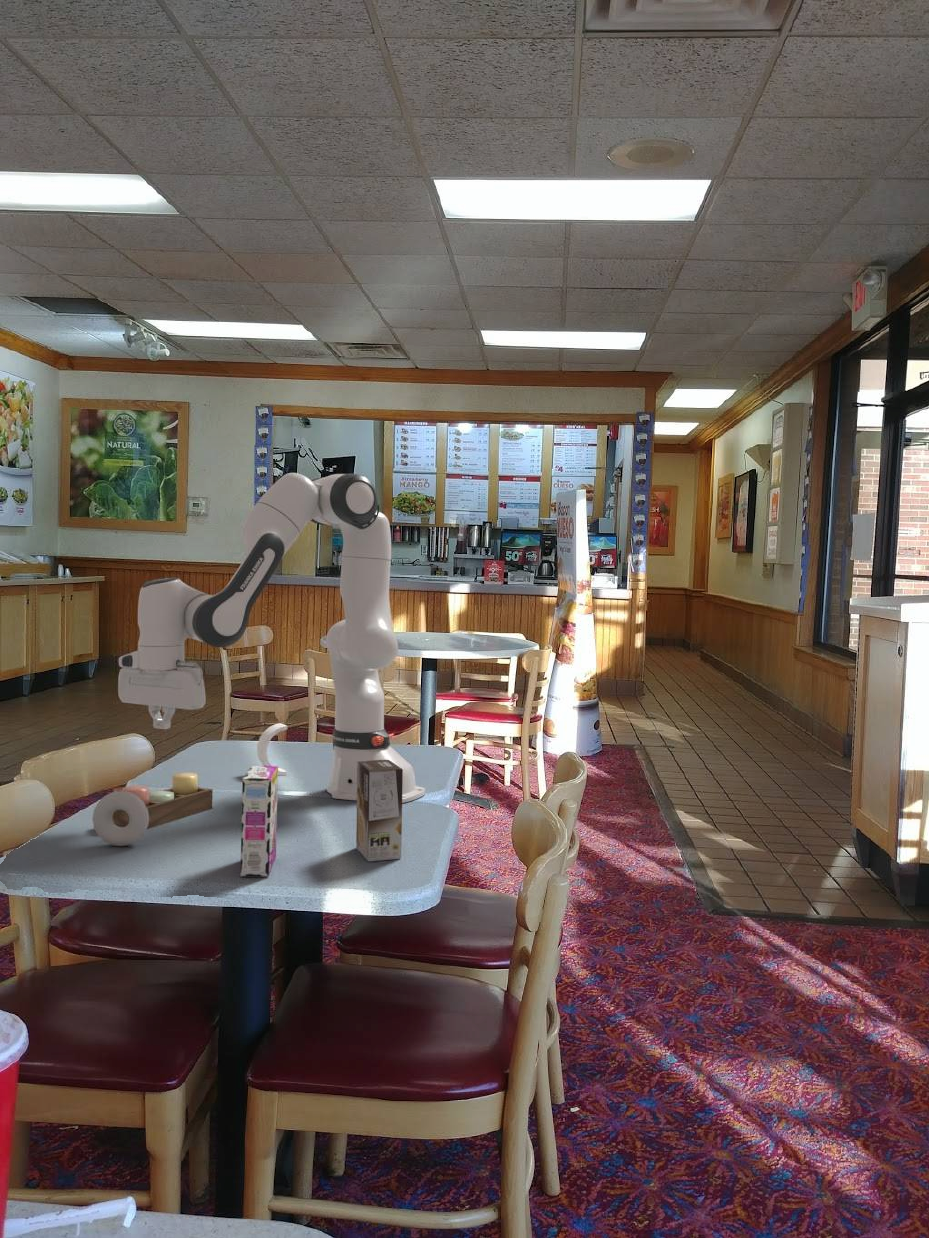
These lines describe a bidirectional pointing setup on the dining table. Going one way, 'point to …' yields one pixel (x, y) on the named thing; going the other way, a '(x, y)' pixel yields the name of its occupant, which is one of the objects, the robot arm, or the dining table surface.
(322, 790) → the dining table surface
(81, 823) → the dining table surface
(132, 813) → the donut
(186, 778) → the yellow short cylinder
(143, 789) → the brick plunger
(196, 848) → the dining table surface
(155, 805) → the wooden compartment tray
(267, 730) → the headphone stand
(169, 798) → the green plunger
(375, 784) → the coffee box
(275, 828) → the candy bar box
